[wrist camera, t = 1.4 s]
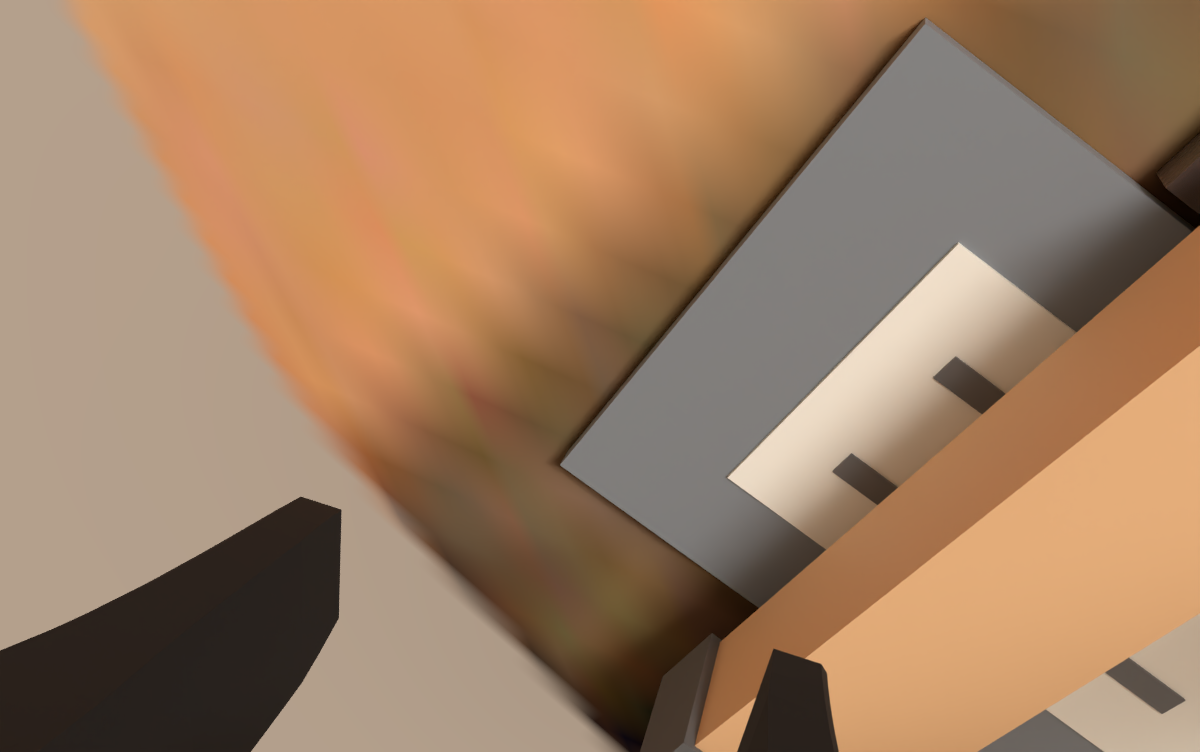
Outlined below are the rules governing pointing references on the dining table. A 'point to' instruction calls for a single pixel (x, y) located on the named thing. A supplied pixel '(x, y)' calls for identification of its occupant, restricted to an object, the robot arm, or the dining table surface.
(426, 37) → the dining table surface
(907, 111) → the label plate
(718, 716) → the tan wooden bar
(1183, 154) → the arm mount
